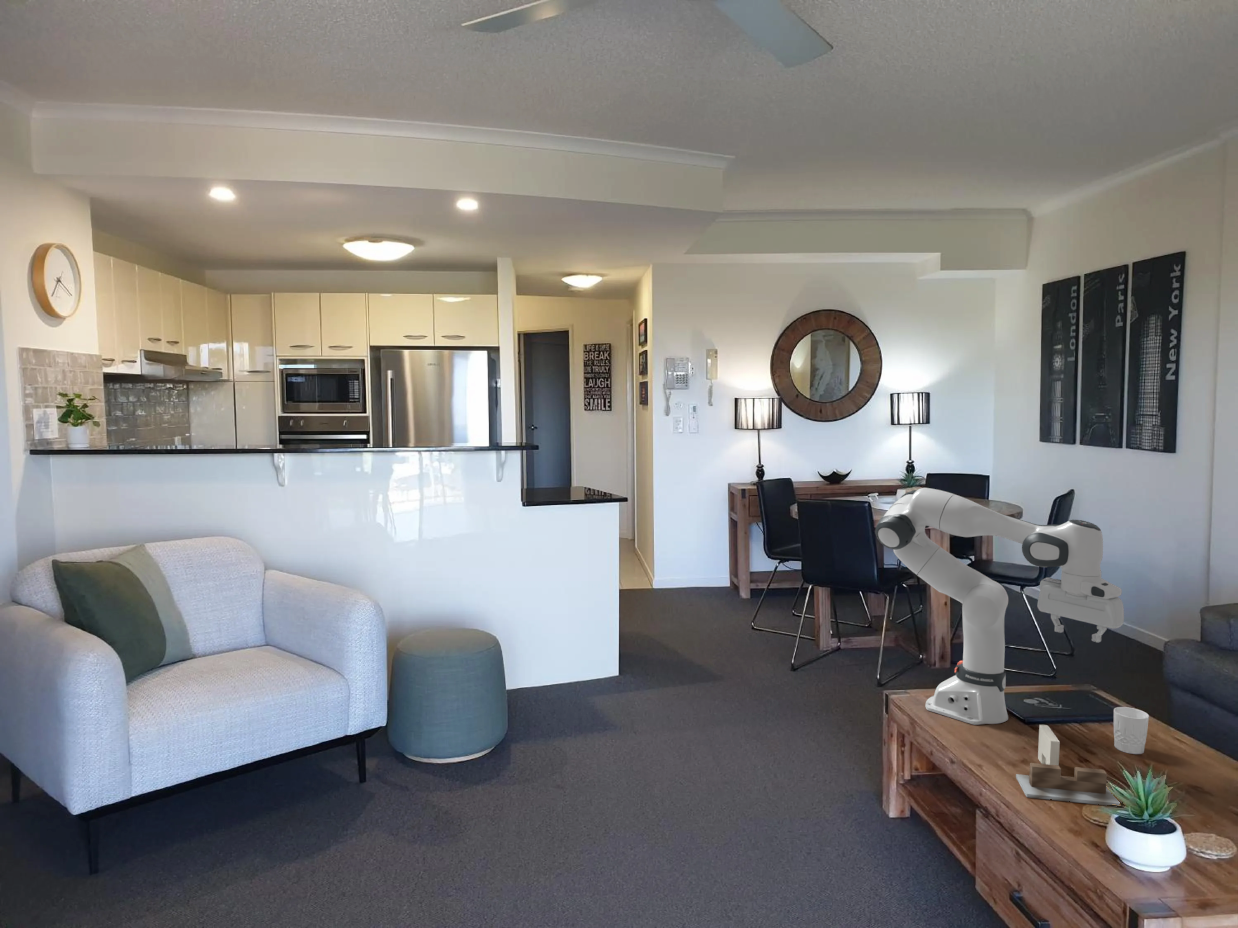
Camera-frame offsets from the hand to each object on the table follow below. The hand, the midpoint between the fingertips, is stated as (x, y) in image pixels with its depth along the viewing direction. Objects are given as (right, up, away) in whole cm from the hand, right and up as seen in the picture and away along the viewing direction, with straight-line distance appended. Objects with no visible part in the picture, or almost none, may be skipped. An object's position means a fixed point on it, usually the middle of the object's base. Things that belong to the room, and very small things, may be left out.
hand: (1077, 636), depth 205 cm
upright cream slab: (-9, -33, -3) cm, 34 cm away
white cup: (+18, -32, +7) cm, 37 cm away
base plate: (-11, -34, -15) cm, 39 cm away
